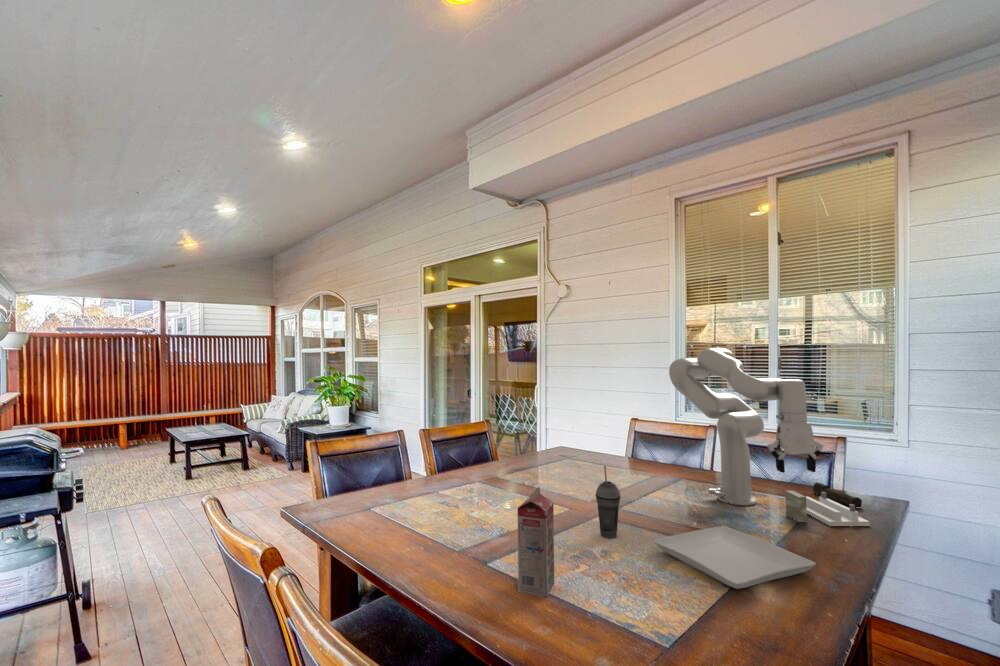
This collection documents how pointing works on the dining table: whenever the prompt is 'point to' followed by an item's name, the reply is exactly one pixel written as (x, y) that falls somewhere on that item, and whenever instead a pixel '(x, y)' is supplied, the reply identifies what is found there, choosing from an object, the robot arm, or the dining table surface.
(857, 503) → the hand tool
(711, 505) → the dining table surface
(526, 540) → the juice carton
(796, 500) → the rectangular block
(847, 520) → the slider channel
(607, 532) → the beverage cup
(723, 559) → the square plate
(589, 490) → the dining table surface
